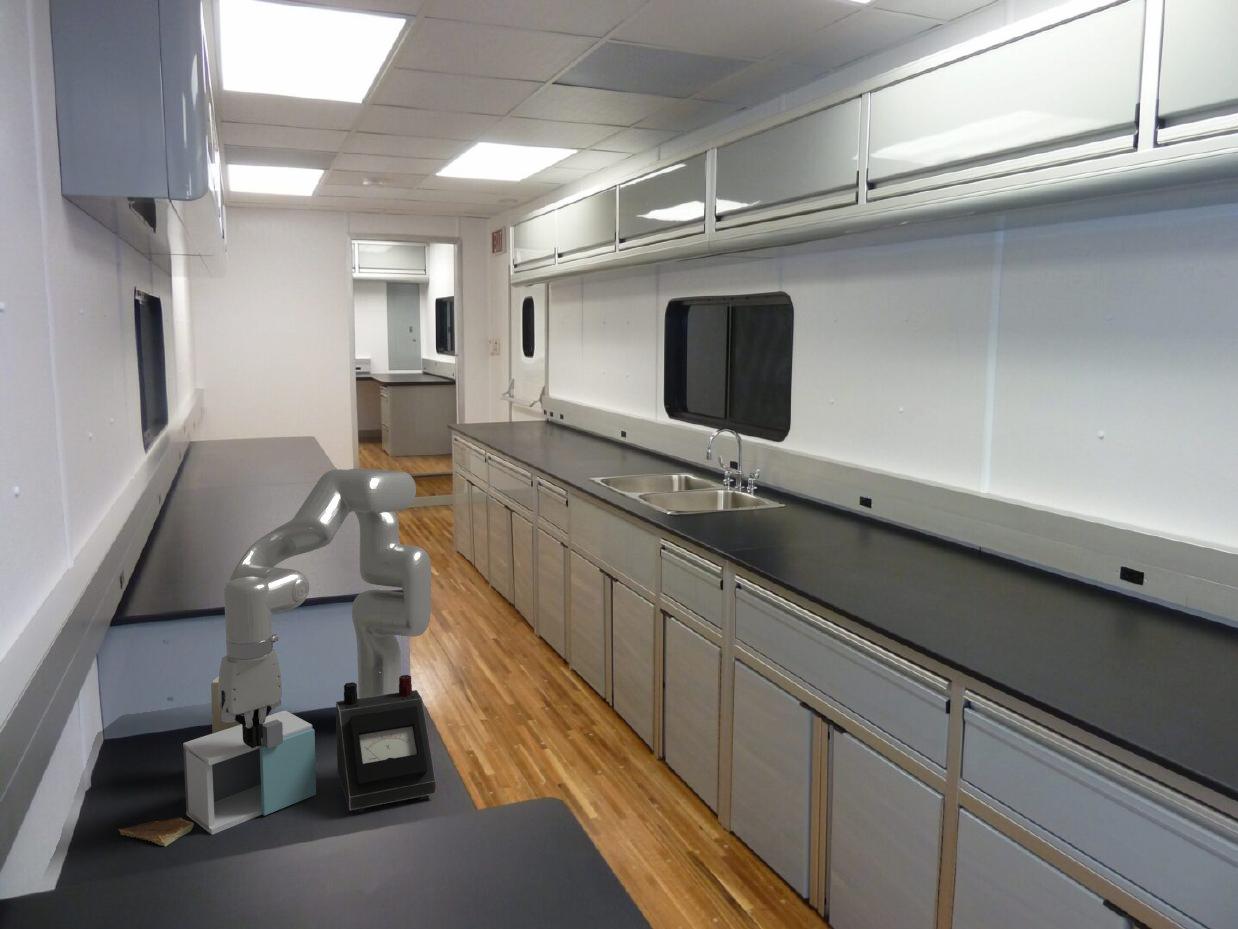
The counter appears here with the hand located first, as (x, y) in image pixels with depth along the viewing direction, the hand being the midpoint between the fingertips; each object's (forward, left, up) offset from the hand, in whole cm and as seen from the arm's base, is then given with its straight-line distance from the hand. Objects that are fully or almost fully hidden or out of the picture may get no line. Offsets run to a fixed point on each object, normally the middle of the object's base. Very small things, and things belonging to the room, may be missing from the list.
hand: (253, 744), depth 160 cm
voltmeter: (-23, +8, -15) cm, 28 cm away
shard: (+14, -8, -15) cm, 23 cm away
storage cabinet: (-3, -6, -15) cm, 16 cm away
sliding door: (-7, 0, -14) cm, 16 cm away
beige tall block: (-7, -18, -15) cm, 25 cm away
